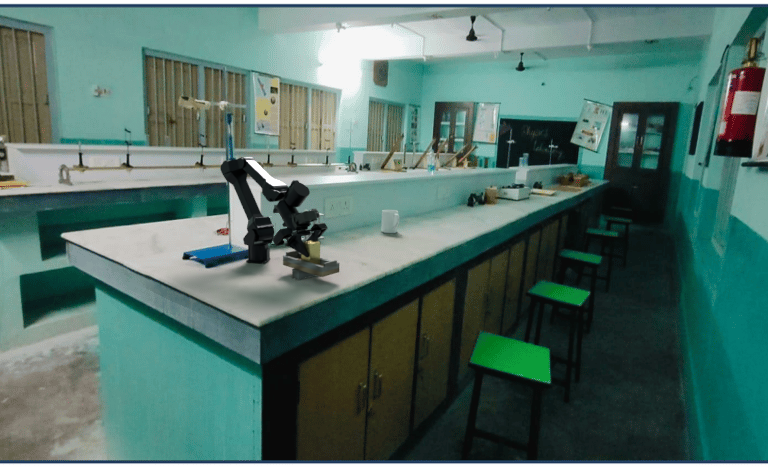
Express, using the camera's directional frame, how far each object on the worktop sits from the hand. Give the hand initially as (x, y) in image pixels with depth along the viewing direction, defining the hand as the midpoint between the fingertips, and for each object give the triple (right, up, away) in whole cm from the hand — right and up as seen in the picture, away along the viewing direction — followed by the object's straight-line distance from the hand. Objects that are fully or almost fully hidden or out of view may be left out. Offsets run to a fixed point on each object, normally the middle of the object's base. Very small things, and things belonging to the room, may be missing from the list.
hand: (313, 255), depth 139 cm
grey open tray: (-1, -7, +2) cm, 8 cm away
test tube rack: (-16, +4, +52) cm, 55 cm away
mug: (+26, +7, +78) cm, 83 cm away
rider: (-1, -3, +1) cm, 3 cm away
